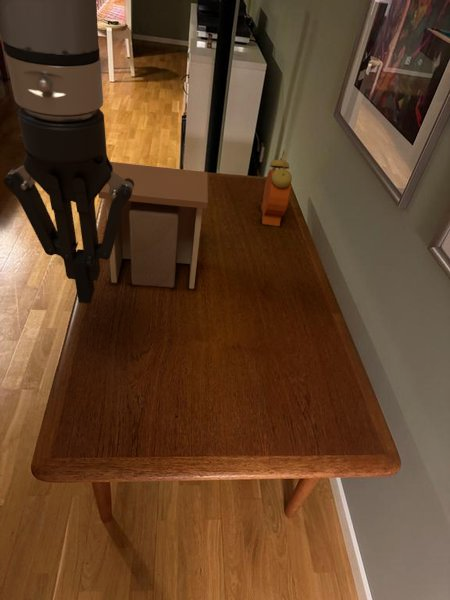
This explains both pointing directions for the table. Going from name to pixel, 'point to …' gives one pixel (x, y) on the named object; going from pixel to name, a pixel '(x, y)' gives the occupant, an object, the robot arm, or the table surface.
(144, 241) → the wooden block
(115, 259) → the desk
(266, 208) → the alarm clock
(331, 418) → the table surface
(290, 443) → the table surface
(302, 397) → the table surface
